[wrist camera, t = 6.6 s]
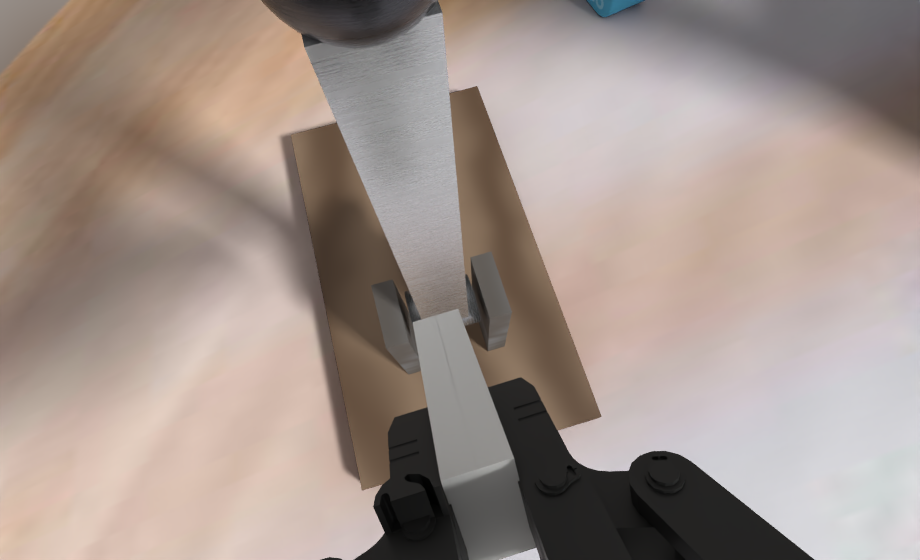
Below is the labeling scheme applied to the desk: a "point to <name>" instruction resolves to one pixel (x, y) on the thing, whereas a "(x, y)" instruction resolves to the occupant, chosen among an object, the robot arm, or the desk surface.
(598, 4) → the data package
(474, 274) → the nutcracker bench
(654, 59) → the desk surface
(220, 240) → the desk surface
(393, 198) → the lever
